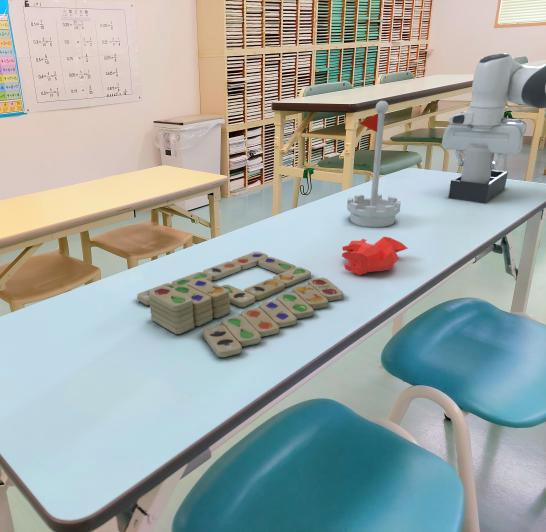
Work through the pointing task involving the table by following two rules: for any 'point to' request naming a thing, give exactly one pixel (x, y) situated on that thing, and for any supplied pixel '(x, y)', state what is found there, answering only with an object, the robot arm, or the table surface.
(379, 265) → the animal figurine
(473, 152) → the can
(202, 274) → the pile of dominoes
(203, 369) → the table surface
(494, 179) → the dark grey divided tray
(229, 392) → the table surface
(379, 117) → the flag stand
